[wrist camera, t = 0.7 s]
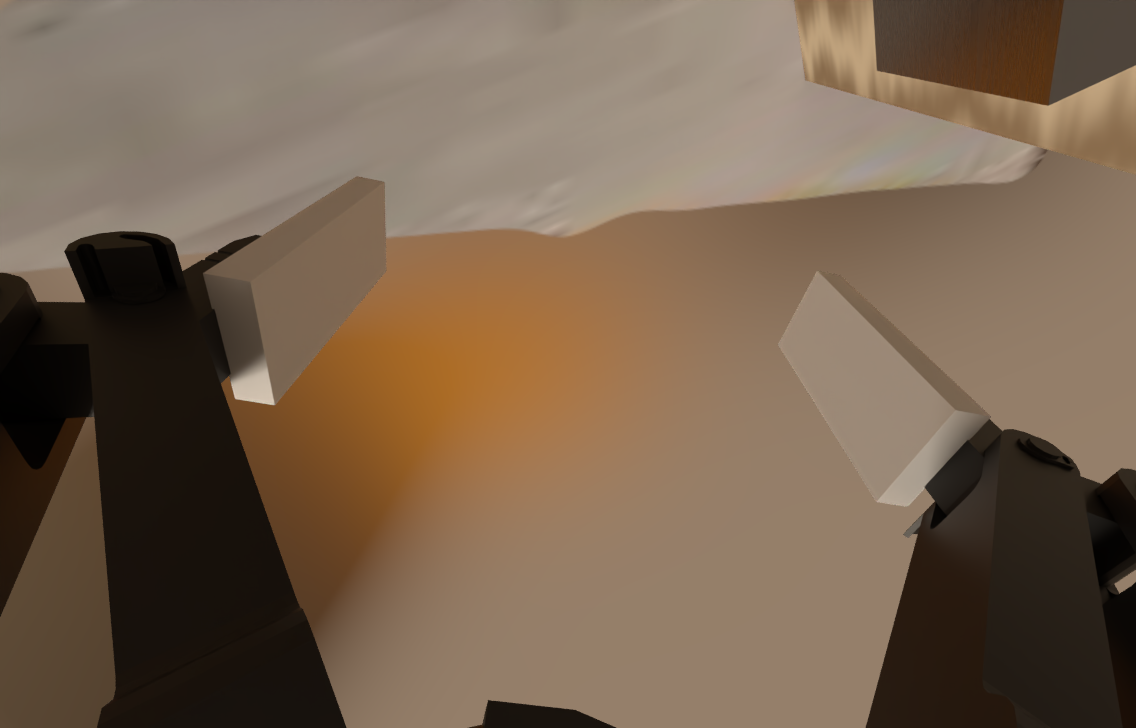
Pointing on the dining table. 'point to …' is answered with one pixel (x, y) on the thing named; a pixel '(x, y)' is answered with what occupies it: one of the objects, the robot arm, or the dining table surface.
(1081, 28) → the t handle
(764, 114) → the dining table surface
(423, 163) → the dining table surface
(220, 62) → the dining table surface
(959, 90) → the zigzag patterned box
